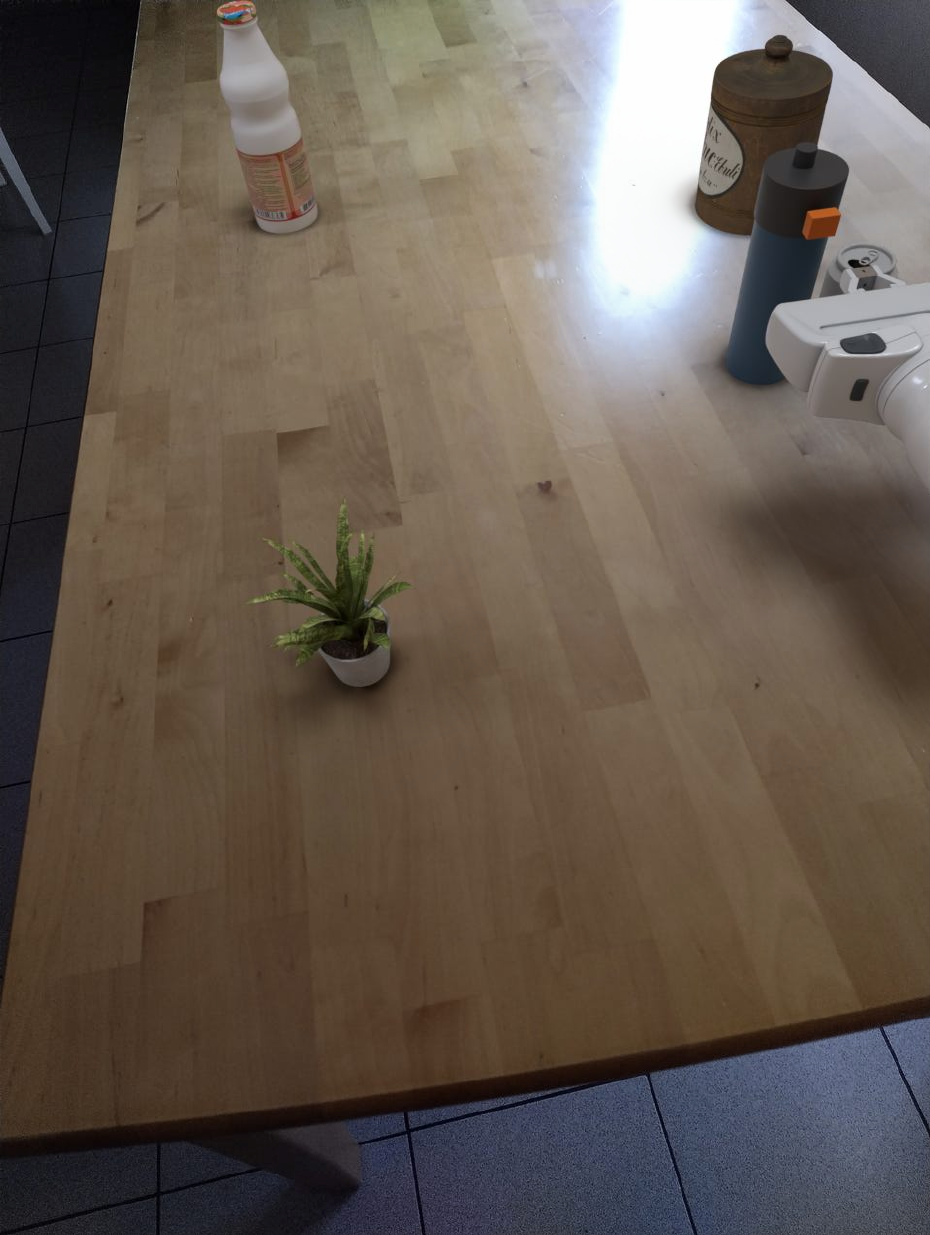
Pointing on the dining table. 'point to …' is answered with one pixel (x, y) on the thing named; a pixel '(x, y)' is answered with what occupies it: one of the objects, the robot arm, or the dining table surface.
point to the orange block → (821, 223)
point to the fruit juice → (264, 124)
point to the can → (857, 264)
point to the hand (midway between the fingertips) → (857, 274)
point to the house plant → (340, 611)
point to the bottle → (781, 251)
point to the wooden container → (756, 126)
